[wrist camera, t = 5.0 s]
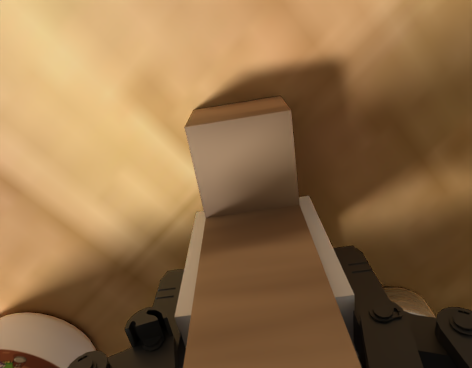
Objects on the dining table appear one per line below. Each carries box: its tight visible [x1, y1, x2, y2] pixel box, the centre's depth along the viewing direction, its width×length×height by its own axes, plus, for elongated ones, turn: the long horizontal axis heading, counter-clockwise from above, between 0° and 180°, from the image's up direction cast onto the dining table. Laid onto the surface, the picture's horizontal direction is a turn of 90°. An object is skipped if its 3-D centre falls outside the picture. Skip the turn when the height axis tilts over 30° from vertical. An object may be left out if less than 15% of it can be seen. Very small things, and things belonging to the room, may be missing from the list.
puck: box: [355, 287, 436, 362], centre depth 19 cm, size 6×6×3 cm
